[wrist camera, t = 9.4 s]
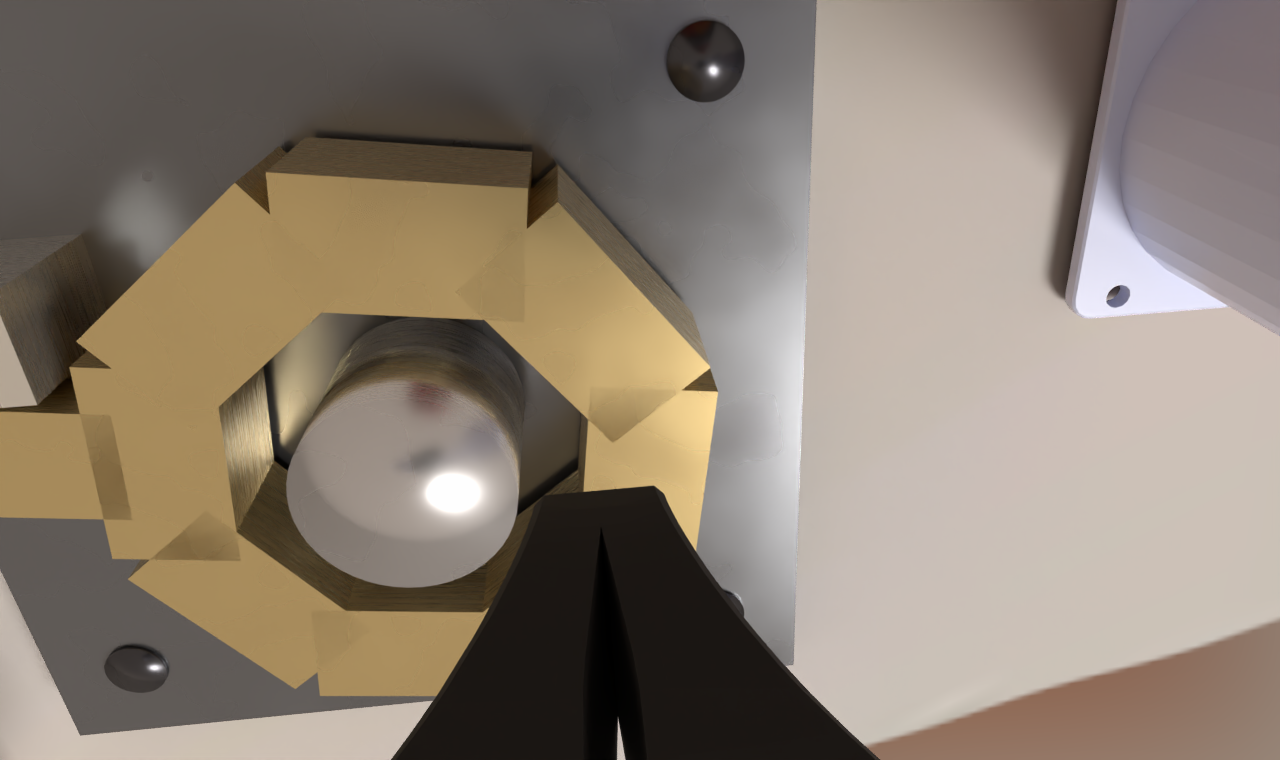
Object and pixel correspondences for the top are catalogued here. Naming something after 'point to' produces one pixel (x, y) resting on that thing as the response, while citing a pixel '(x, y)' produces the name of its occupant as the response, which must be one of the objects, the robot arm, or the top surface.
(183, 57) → the flange plate
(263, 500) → the handled octagonal ring
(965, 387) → the top surface
